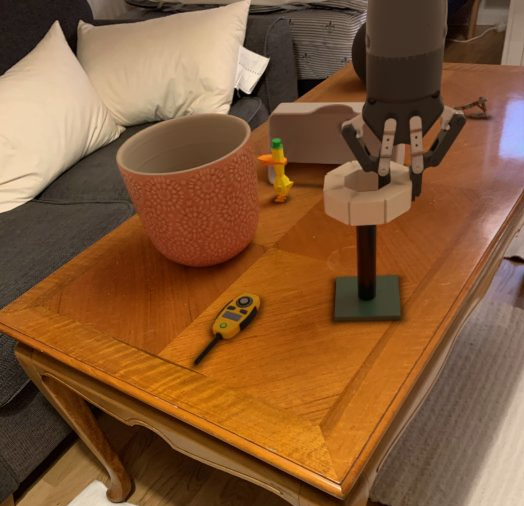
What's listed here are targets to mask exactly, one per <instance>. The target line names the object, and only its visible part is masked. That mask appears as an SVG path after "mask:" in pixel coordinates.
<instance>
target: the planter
mask: <svg viewBox="0 0 524 506" xmlns="http://www.w3.org/2000/svg"><path fill="white" fill-rule="evenodd" d="M255 154H256V153H255V147H254V140H253V135H252V130H251V127H250V124H248V122H246V121H245V120H244V119H243V118H240V117H238V116H236V115H232V114H229V113H228V114H227V113H218V112H208V113H205V112H203V113H194V114H188V115H181V116H178V117H173V118H169V119H166V120H163V121H161V122H157V123H156V124H153V125H150V126H148V127H146V128H144V129H142V130H140V131H138V132H137V133H135V134H133V135H132V136H131V137H129V138H128V139H126V140H125V142H123V143H122V145H121V146H120V147H119V149H118V150H117V152H116V155H115V161H116V165H117V167H118V170H119V174H120V176H121V178H122V181H123V183H124V186H125V189H126V191H127V193H128V195H129V198H130V201H131V203H132V205H133V207H134V209H135V211H136V213H137V217H138V218H139V221H140V223H141V225H142V227H143V229H144V230H145V233H146V234H147V237H148V238H149V239H150V241H151V243H152V244H153V246H154V247H155V248H156V250H157V251H158V252H159V253H160V254H161V255H162V256H163V257H165V258H166V259H168V260H170V261H172V262H174V263H176V264H179V265H182V266H187V267H194V268H204V267H212V266H216V265H219V264H222V263H225V262H227V261H230V260H231V259H233V258H235V257H237V256H238V255H239V254H240V253H241V252H243V251H244V249H246V247H247V246H248V245H249V244H250V243H251V242H252V240H253V239H254V237H255V235H256V232H257V230H258V226H259V220H260V196H259V195H260V193H259V192H260V191H259V181H258V172H257V171H258V170H257V162H256V155H255Z"/></svg>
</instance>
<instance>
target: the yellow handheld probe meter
mask: <svg viewBox="0 0 524 506" xmlns="http://www.w3.org/2000/svg"><path fill="white" fill-rule="evenodd" d="M260 306H261V299H260V297H259V295H257V294H254V293H250V292H242V293H240V294H239V295H238V296H236V298H233V299H231V300H230V301H229V302H227V304H226V305H225V306H223V308H222V309H220V312H218V314H217V316H216V317H215V320H214V322H213V325H212V327H211V328H212V332H213V333H212V334H213V335H215V336H214V338H213V339H212V340H211V341H210V342H209V344H208V345H207V346H206V347H205V348H204V349H203V350H202V352H201V353H199V355H198V356H197V357H196V358H195V359H194V361H193V364H194V365H198V364H199V363H200V361H201V360H202V359H203V358H204V357H205V356H206V355H207V354H208V352H210V350H211V349H212V348H213V347H214V346H215V345H216V343H217V342H218V341H219V340H222V339H225V340H227V339H228V340H230V339H232V338H233V337H235V336H236V335H237V334H238V333H240V332H242V331H244V330H245V329H246V328H247V327H248V326H249V325H250V324H251V323H252V322H253V320H254V319H255V318H256V316H257V314H258V310H259V308H260Z"/></svg>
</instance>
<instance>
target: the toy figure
mask: <svg viewBox="0 0 524 506" xmlns="http://www.w3.org/2000/svg"><path fill="white" fill-rule="evenodd" d="M272 142H273V144H272V145H271V152H272V155H268V154H263V155H260V156H258V157H257V158H256V160H257V161H259V163H260V164H261V165H264V166H268V165H272V166H274V169H275V172H276V178H275V179H274V183H273V188H274V189H273V191H274V192H275V193H276V194H277V195H278V196H277V197H276V199H275V200H274V202H276V203H283V202H285V200H286V199H287V197H286V196H288V194H289V192H290V190H291V189H292V187H293V185H294V183H295V182H294V181H290V178H289V177H288V176H287V175H285V168H284V164H286V162H287V159H286V158H285V157H284V155H283V145H282V144H281V139H279V138H276V139H273V140H272Z"/></svg>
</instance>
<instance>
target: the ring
mask: <svg viewBox="0 0 524 506" xmlns="http://www.w3.org/2000/svg"><path fill="white" fill-rule="evenodd" d="M390 172H391V182H390V183H389V184H388V185H386V186H384V187H383V188H381V189H379V190H378V174H377V173H375V172H372V171H371V172H364V171H363V169H362V168H361V166H360V164H359V163H358V161H357V160H356V161H352V162H347V163H345V164H341V165H339V166H338V167H336V168H334V169H332V170H330V171H328V172H326V175H325V174H324V180H323V189H322V191H323V192H322V194H323V207H324V213H325V214H326V215H327V216H329V217H331V218H333V219H335V220H337V221H338V222H341V223H343V224H345V225H347V226H349V225H350V227H356V226H358V225H376V224H377V225H384V224H389V223H390V222H391V221H393V220H394V219H396V218H398V217H399V216H401V215H402V214H404V213H406V212H408V211H409V210H410V208H411V207H412V202H411V195H412V181H411V180H410V176H409V166H405V165H404V164H403V165H401V164H398V163H395V162H392V161H390Z"/></svg>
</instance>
